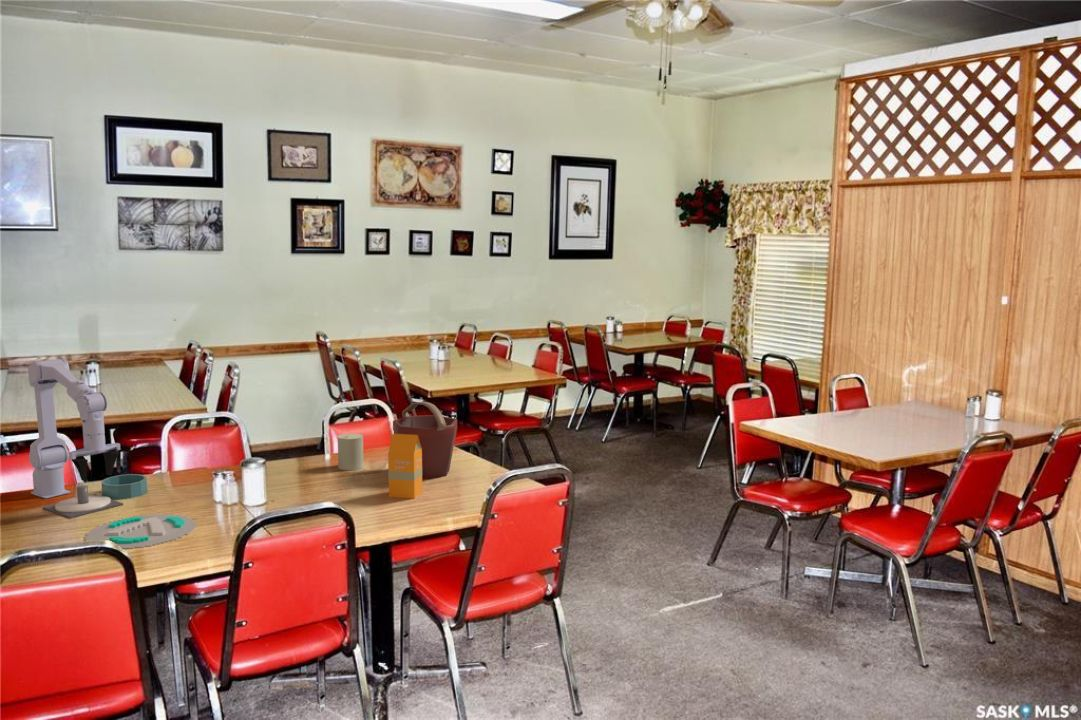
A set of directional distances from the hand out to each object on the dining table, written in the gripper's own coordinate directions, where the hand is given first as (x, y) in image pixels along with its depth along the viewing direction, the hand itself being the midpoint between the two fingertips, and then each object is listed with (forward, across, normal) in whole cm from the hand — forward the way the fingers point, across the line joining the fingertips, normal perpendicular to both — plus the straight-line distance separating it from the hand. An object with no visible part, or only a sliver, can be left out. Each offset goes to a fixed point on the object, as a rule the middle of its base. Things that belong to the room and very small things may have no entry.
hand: (96, 477), depth 257 cm
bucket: (+10, +90, -51) cm, 104 cm away
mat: (+10, -1, +7) cm, 12 cm away
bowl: (+10, +14, +10) cm, 20 cm away
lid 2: (+11, -3, -28) cm, 30 cm away
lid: (+10, -1, +7) cm, 12 cm away
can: (+10, +79, -24) cm, 84 cm away
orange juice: (+10, +66, -64) cm, 93 cm away
